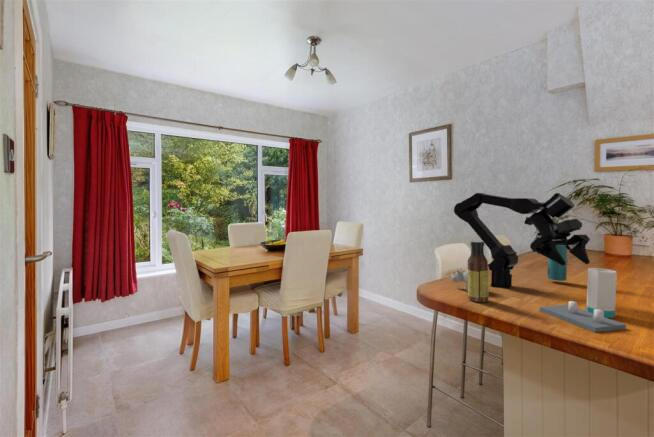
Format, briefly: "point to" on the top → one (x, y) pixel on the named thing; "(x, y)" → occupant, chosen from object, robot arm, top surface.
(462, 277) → the chubby cartoon animal
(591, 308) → the vase
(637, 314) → the top surface
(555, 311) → the pin plate
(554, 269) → the beverage bottle
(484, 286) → the sauce bottle
